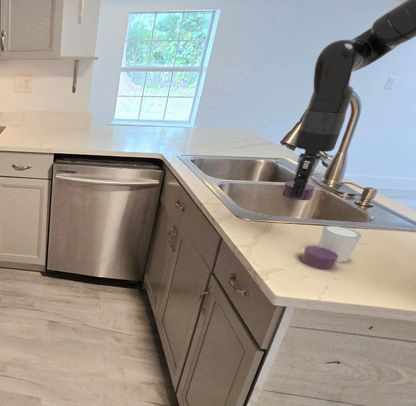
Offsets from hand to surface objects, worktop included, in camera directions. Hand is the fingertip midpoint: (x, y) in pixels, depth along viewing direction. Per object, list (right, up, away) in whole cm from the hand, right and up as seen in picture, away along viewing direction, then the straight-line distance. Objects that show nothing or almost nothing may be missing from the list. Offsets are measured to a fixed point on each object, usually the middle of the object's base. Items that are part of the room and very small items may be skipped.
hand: (297, 192), depth 95 cm
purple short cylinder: (0, -17, -6) cm, 18 cm away
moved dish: (0, -1, 0) cm, 1 cm away
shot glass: (+6, -16, -3) cm, 18 cm away
